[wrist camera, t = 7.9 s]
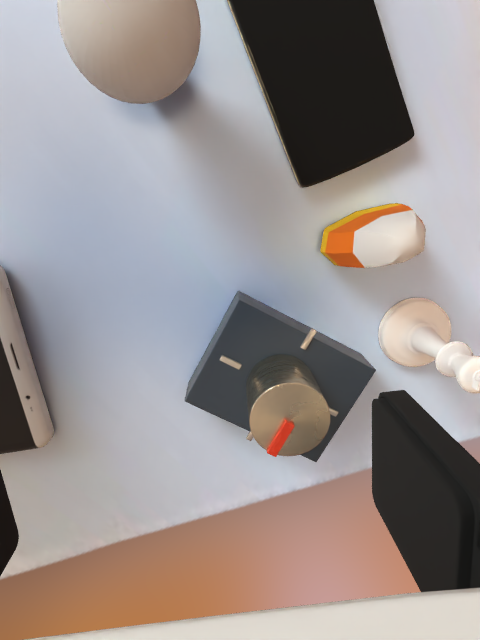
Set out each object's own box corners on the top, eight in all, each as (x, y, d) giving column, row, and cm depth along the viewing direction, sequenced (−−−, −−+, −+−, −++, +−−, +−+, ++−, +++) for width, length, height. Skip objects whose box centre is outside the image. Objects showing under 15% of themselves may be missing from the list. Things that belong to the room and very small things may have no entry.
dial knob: (266, 342, 26) (274, 371, 21) (326, 372, 27) (347, 406, 22) (234, 400, 27) (235, 439, 22) (293, 427, 28) (305, 471, 23)
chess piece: (382, 296, 29) (460, 341, 19) (452, 298, 29) (565, 343, 19) (373, 363, 30) (443, 438, 20) (441, 365, 30) (542, 439, 20)
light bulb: (174, 149, 26) (143, 115, 16) (89, 91, 25) (2, 17, 15) (226, 61, 25) (226, -34, 15) (139, -5, 24) (79, -151, 14)
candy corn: (323, 270, 28) (359, 294, 20) (309, 228, 27) (341, 236, 20) (408, 238, 28) (478, 250, 20) (396, 194, 27) (464, 189, 19)
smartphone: (303, 191, 25) (197, -84, 22) (300, 192, 27) (199, -70, 23) (418, 139, 25) (330, -153, 21) (409, 142, 26) (324, -135, 22)
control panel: (185, 388, 30) (180, 408, 27) (241, 283, 28) (243, 293, 25) (304, 444, 31) (313, 469, 28) (365, 348, 30) (381, 364, 27)
